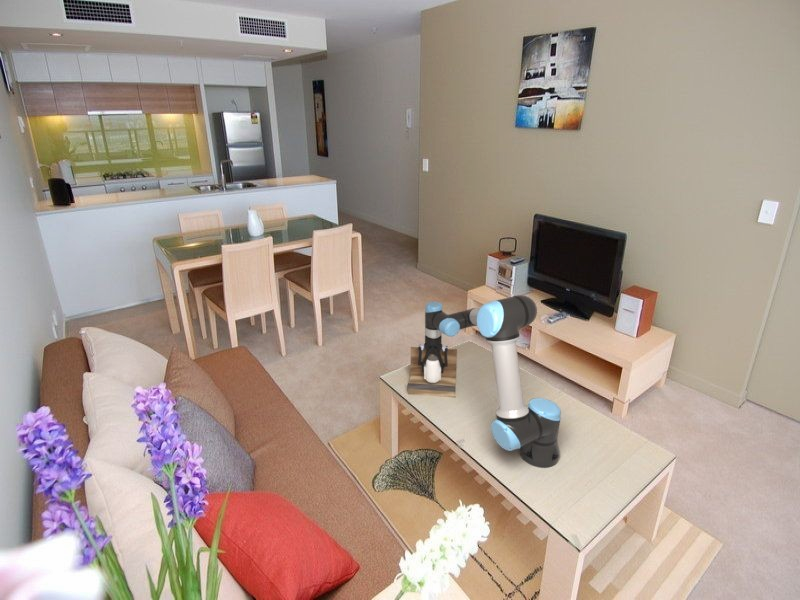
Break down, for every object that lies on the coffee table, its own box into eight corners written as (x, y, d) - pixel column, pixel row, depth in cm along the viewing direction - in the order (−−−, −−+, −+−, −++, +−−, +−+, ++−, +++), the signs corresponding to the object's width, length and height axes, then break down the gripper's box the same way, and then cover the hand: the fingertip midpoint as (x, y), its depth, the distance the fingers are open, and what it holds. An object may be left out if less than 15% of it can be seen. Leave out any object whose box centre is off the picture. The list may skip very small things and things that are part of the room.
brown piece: (455, 397, 214) (456, 363, 207) (408, 394, 217) (407, 361, 210) (455, 381, 226) (457, 349, 219) (411, 378, 229) (410, 346, 222)
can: (441, 382, 217) (441, 360, 212) (428, 384, 215) (428, 362, 211) (436, 375, 223) (437, 353, 218) (423, 377, 221) (424, 355, 216)
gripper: (454, 332, 212) (453, 374, 221) (412, 330, 214) (413, 372, 223) (454, 339, 205) (452, 383, 214) (411, 337, 207) (411, 381, 216)
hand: (432, 377), depth 219 cm, fingers closed on can, 6 cm apart
